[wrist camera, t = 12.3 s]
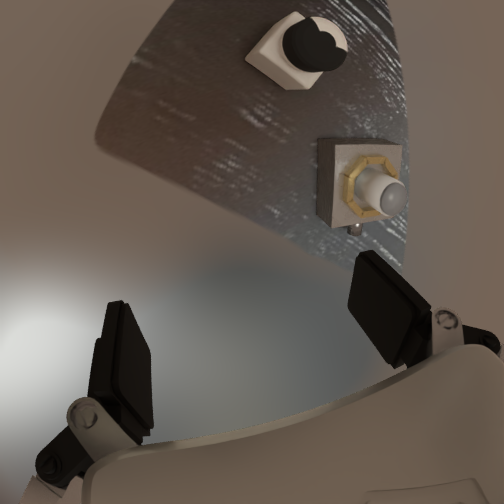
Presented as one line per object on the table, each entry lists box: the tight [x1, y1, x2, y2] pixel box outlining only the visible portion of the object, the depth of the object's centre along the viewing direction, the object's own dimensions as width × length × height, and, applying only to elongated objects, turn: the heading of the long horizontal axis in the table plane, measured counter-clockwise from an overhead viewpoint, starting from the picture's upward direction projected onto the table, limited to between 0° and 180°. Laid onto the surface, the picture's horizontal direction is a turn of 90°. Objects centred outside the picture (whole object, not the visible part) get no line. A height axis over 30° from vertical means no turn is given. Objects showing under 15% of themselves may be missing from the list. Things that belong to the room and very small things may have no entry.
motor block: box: [316, 138, 402, 236], centre depth 39 cm, size 15×12×6 cm
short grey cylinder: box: [355, 168, 407, 216], centre depth 34 cm, size 5×5×6 cm
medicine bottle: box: [245, 12, 347, 90], centre depth 25 cm, size 7×7×12 cm
